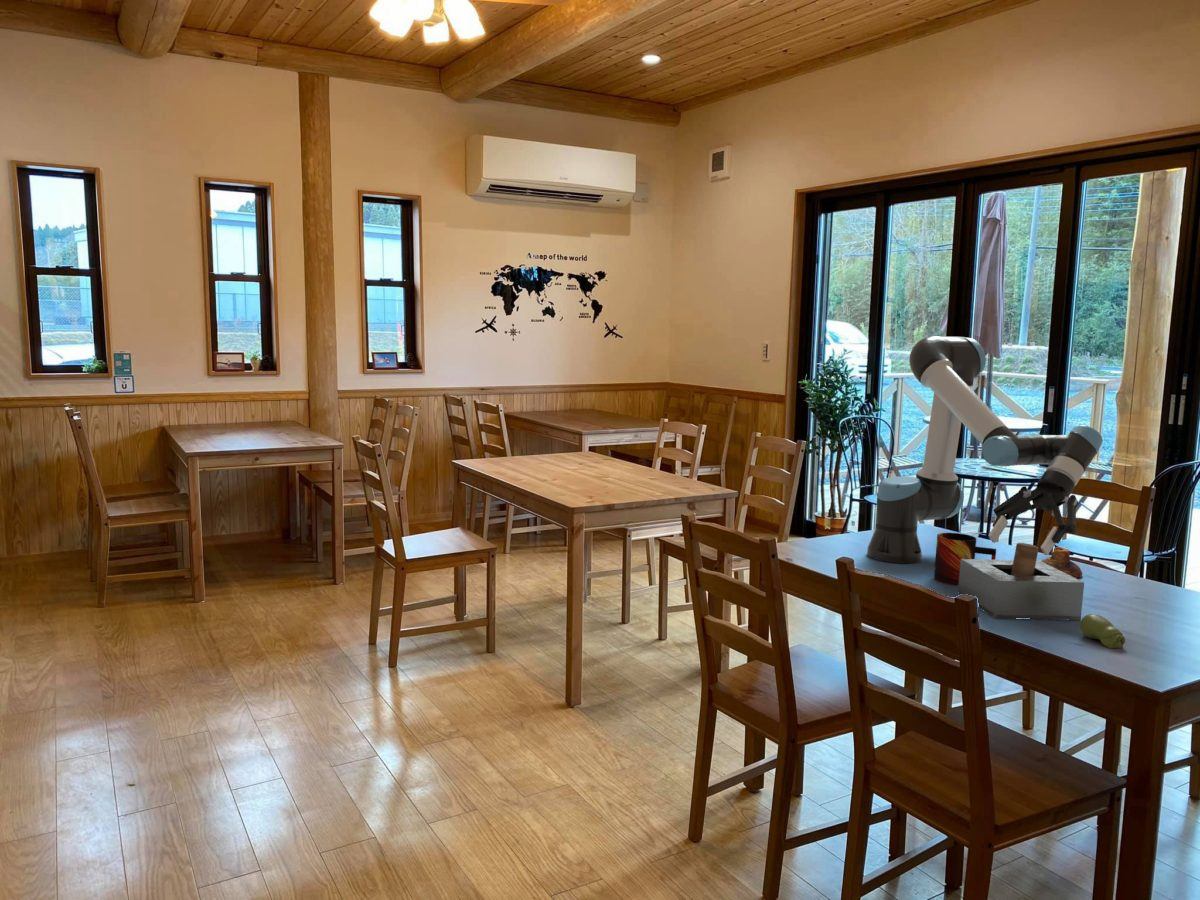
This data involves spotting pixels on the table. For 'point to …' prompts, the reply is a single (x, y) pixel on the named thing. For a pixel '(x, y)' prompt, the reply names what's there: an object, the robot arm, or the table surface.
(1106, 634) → the pear
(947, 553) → the mug
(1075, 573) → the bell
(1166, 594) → the table surface
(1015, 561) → the peg
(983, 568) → the box
